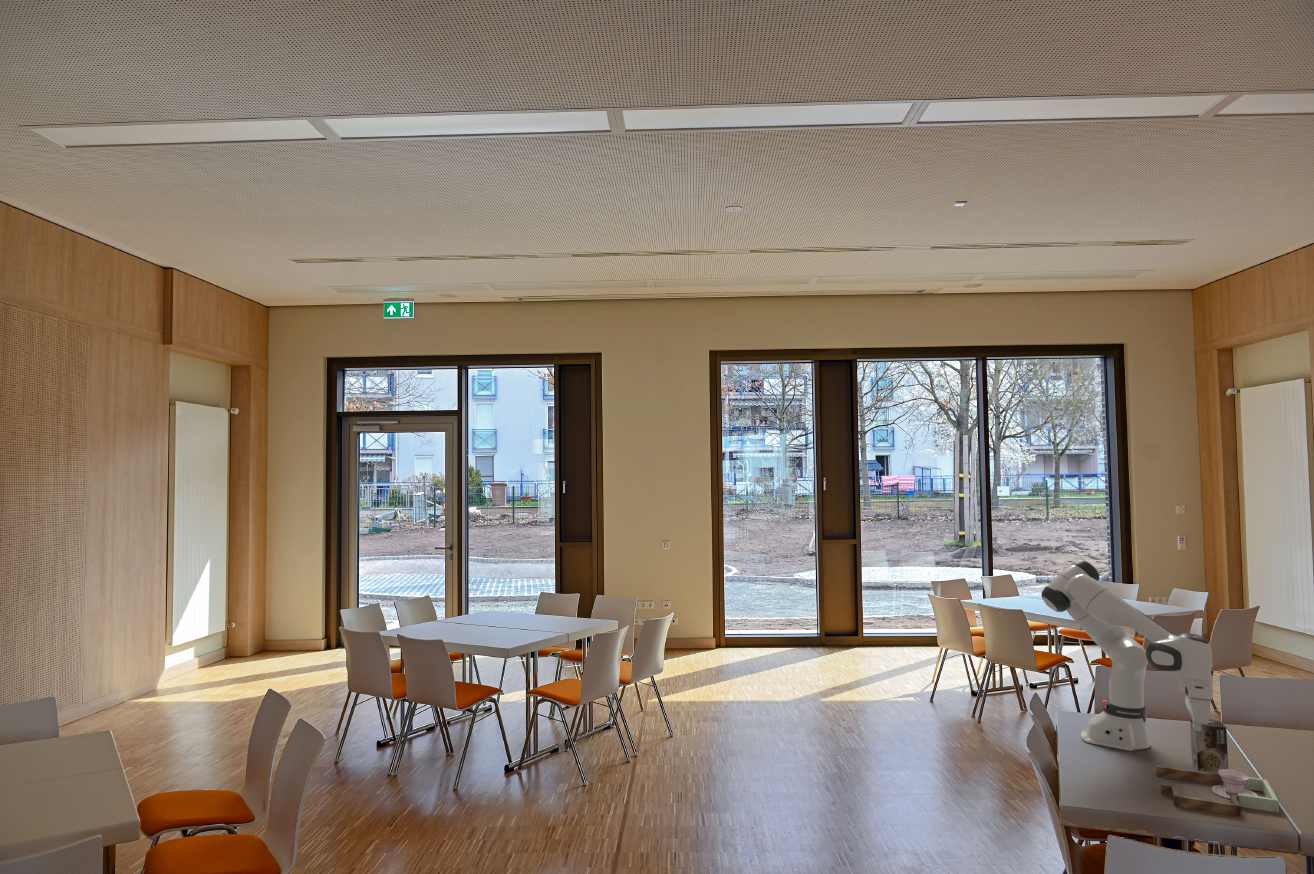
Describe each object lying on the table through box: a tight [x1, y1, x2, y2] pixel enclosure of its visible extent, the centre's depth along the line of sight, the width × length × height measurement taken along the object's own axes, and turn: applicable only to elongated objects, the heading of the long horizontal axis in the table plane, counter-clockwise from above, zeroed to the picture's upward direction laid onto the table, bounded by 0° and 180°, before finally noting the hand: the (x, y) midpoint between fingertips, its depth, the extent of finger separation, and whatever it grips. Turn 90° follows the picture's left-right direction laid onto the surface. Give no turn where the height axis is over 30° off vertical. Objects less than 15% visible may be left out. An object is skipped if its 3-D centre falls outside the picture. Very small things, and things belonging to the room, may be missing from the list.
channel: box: [1156, 765, 1242, 817], centre depth 249 cm, size 20×25×3 cm
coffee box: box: [1189, 718, 1229, 774], centre depth 268 cm, size 9×6×16 cm
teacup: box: [1211, 768, 1259, 800], centre depth 249 cm, size 12×12×6 cm
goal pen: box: [1238, 776, 1280, 814], centre depth 246 cm, size 10×17×4 cm, turn 152°
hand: (1196, 729), depth 253 cm, fingers closed
